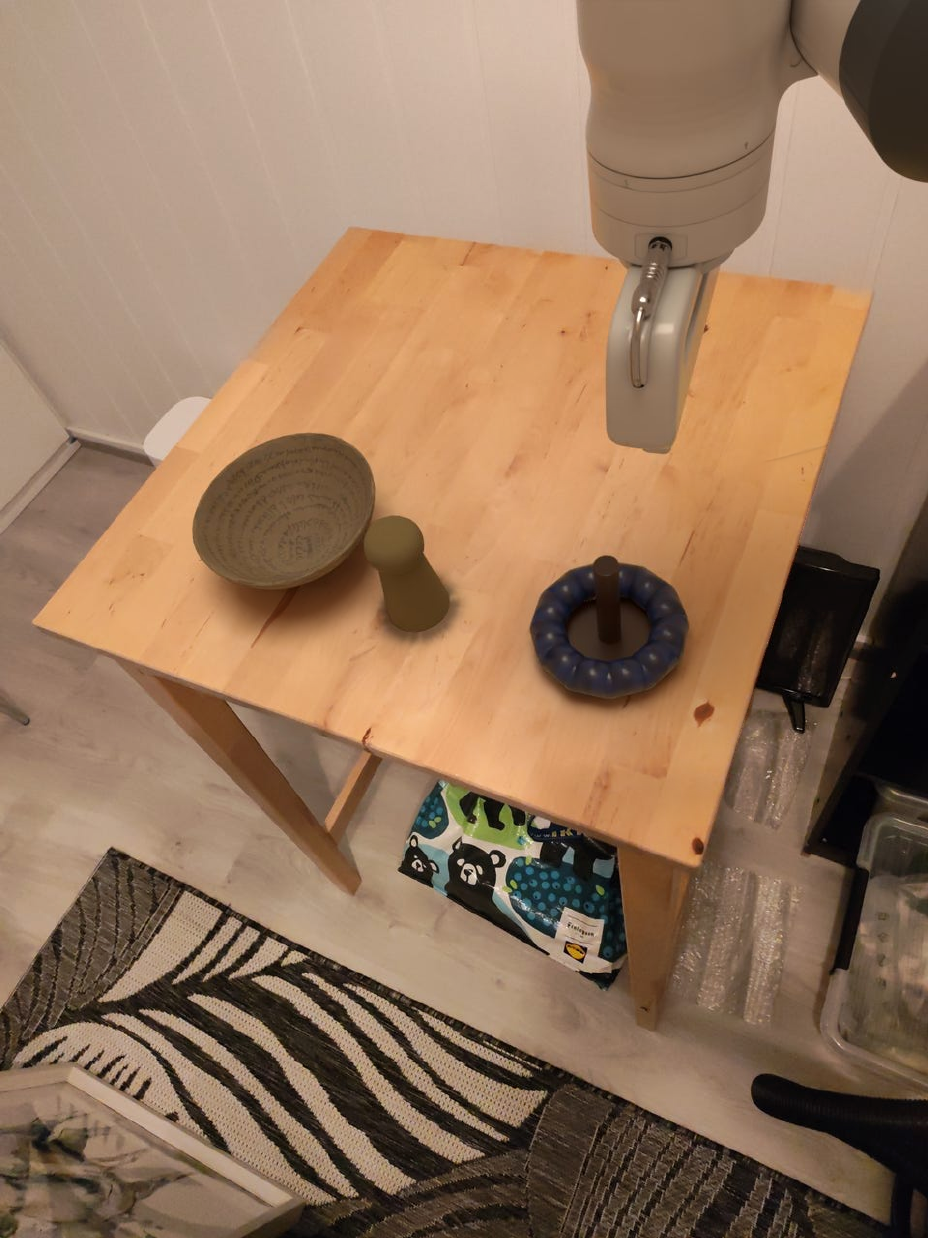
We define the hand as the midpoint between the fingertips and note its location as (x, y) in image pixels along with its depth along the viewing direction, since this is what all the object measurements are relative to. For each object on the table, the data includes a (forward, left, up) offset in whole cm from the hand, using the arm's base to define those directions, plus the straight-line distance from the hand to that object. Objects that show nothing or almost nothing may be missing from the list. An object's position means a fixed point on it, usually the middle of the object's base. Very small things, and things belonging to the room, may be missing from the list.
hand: (672, 391), depth 52 cm
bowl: (+32, -16, -24) cm, 43 cm away
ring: (+6, +3, -22) cm, 22 cm away
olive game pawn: (+22, -6, -24) cm, 33 cm away
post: (+6, +3, -24) cm, 25 cm away
